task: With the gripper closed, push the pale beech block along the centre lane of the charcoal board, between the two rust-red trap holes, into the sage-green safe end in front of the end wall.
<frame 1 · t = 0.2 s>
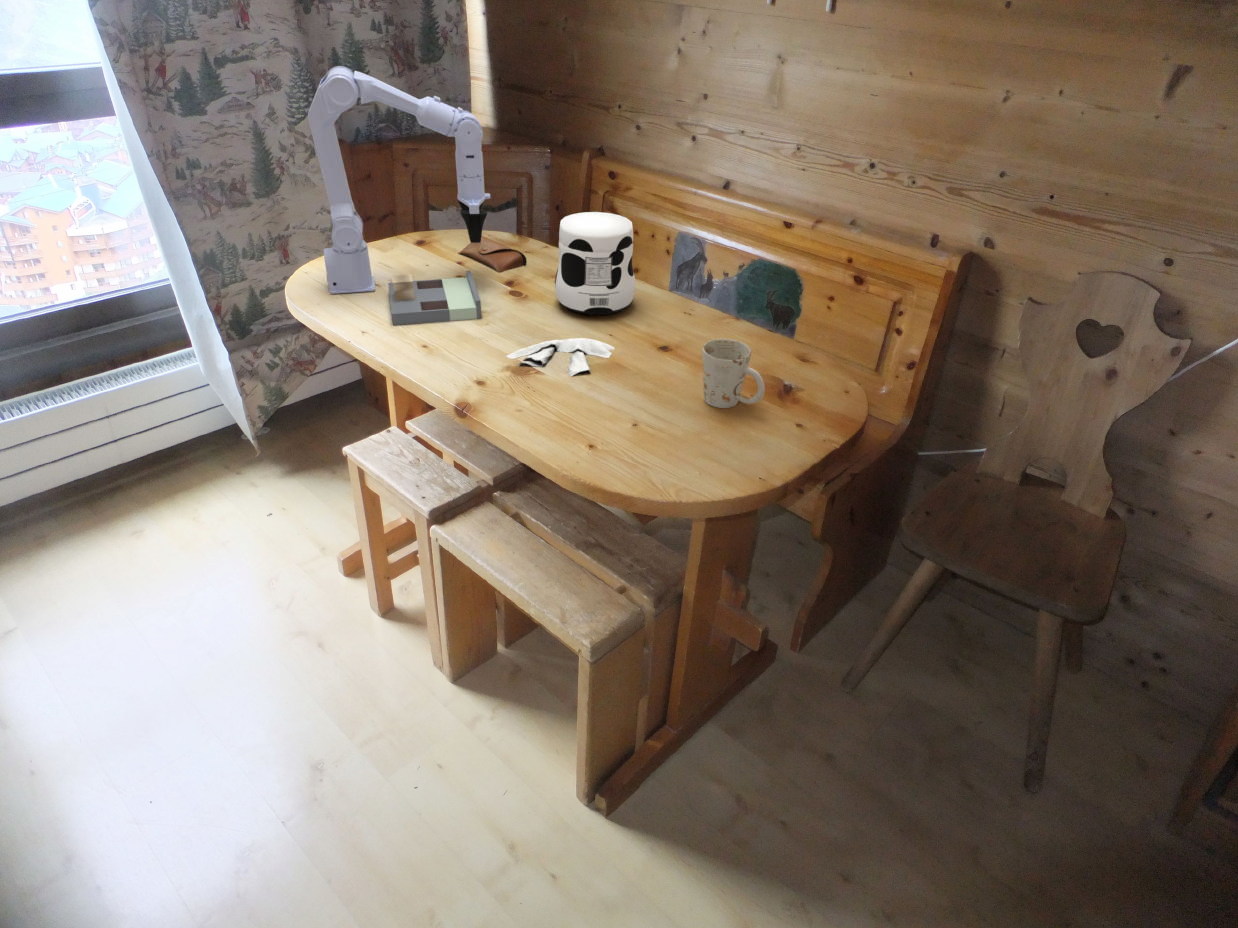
hand: (474, 236, 180), 10 cm above the table, tool pointing down, fingers open, 7 cm apart
trap board: (429, 306, 173), on the table
beech block: (404, 296, 170), point 2 cm above the table, touching trap board
sunglasses case: (491, 261, 198), on the table
milk container: (594, 305, 176), on the table
cloth: (559, 363, 155), on the table
mug: (730, 405, 142), on the table
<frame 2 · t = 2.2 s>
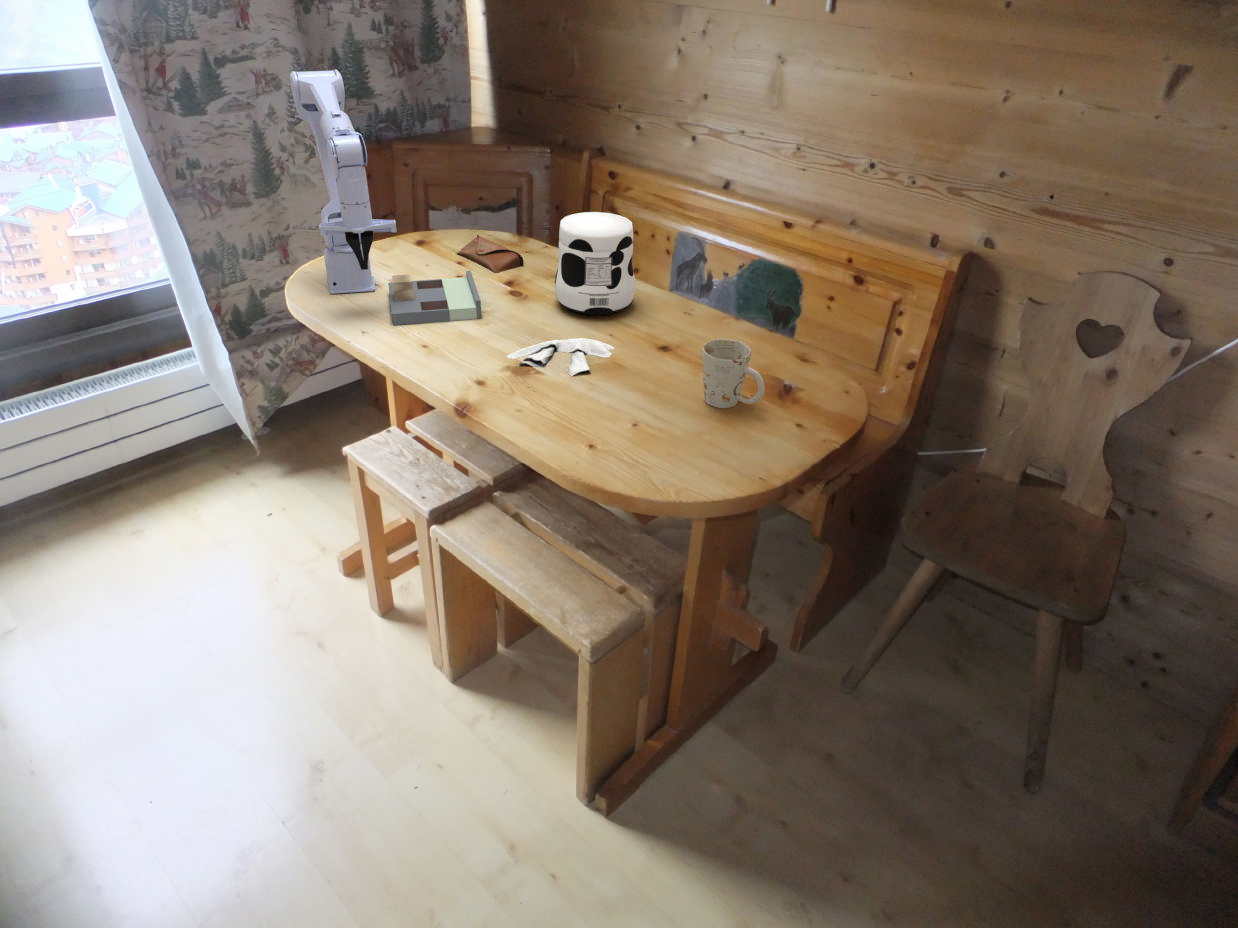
hand: (364, 268, 164), 9 cm above the table, tool pointing down, fingers closed
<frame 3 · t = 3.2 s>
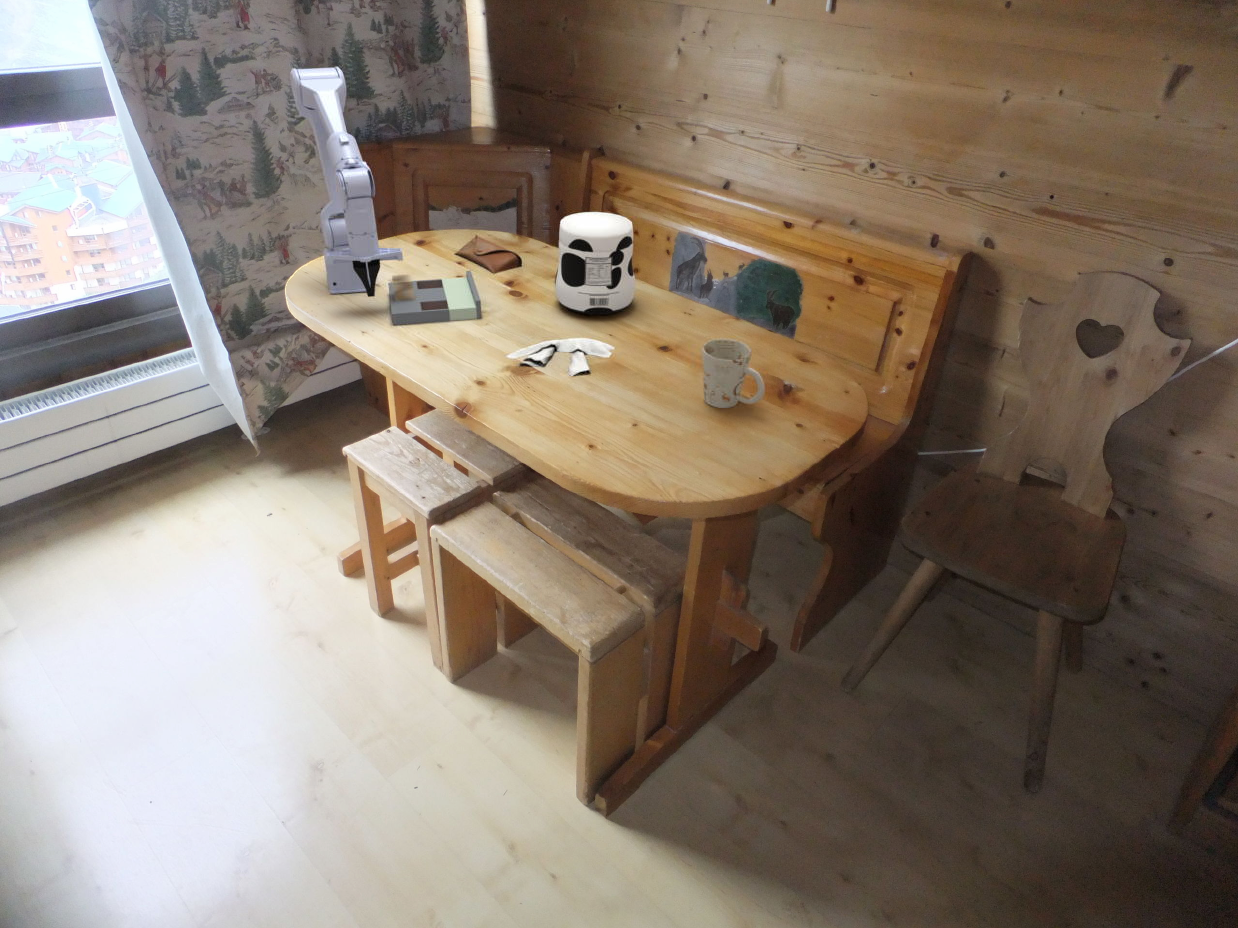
hand: (371, 295, 168), 3 cm above the table, tool pointing down, fingers closed
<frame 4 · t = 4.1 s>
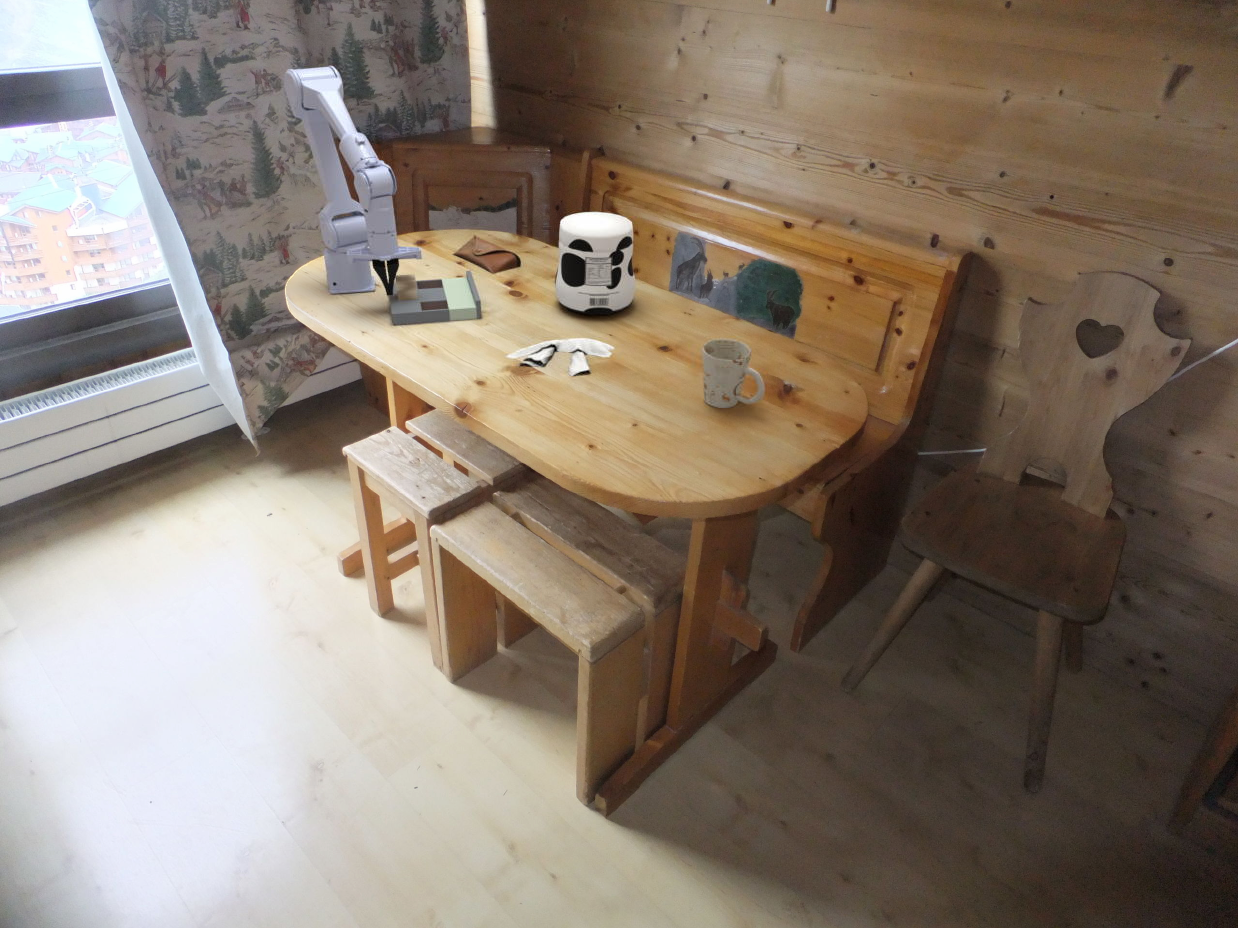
hand: (389, 293, 169), 3 cm above the table, tool pointing down, fingers closed
beech block: (407, 296, 170), point 3 cm above the table, touching gripper, trap board
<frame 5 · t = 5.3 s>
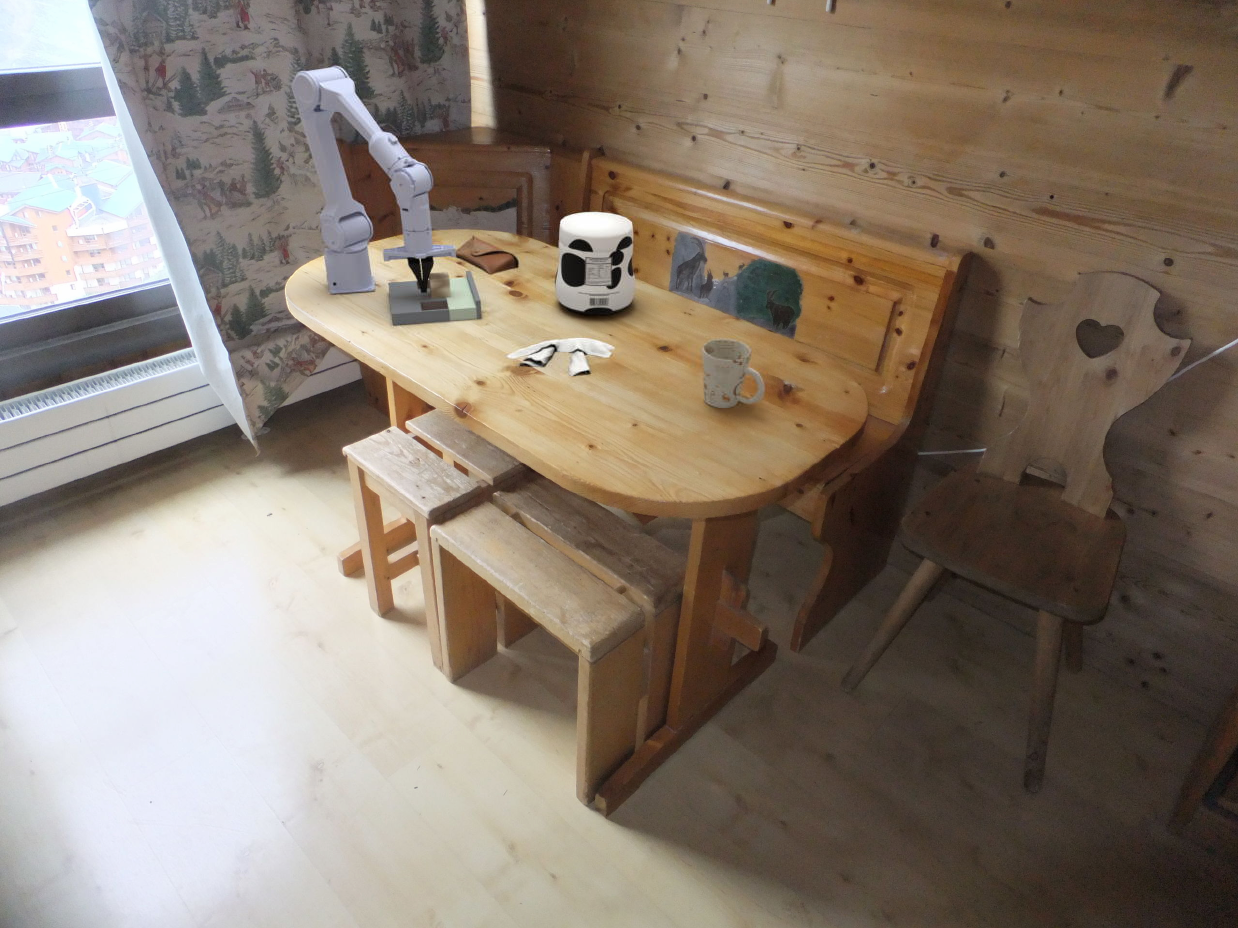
hand: (423, 291, 170), 3 cm above the table, tool pointing down, fingers closed
beech block: (440, 294, 172), point 3 cm above the table, touching gripper, trap board
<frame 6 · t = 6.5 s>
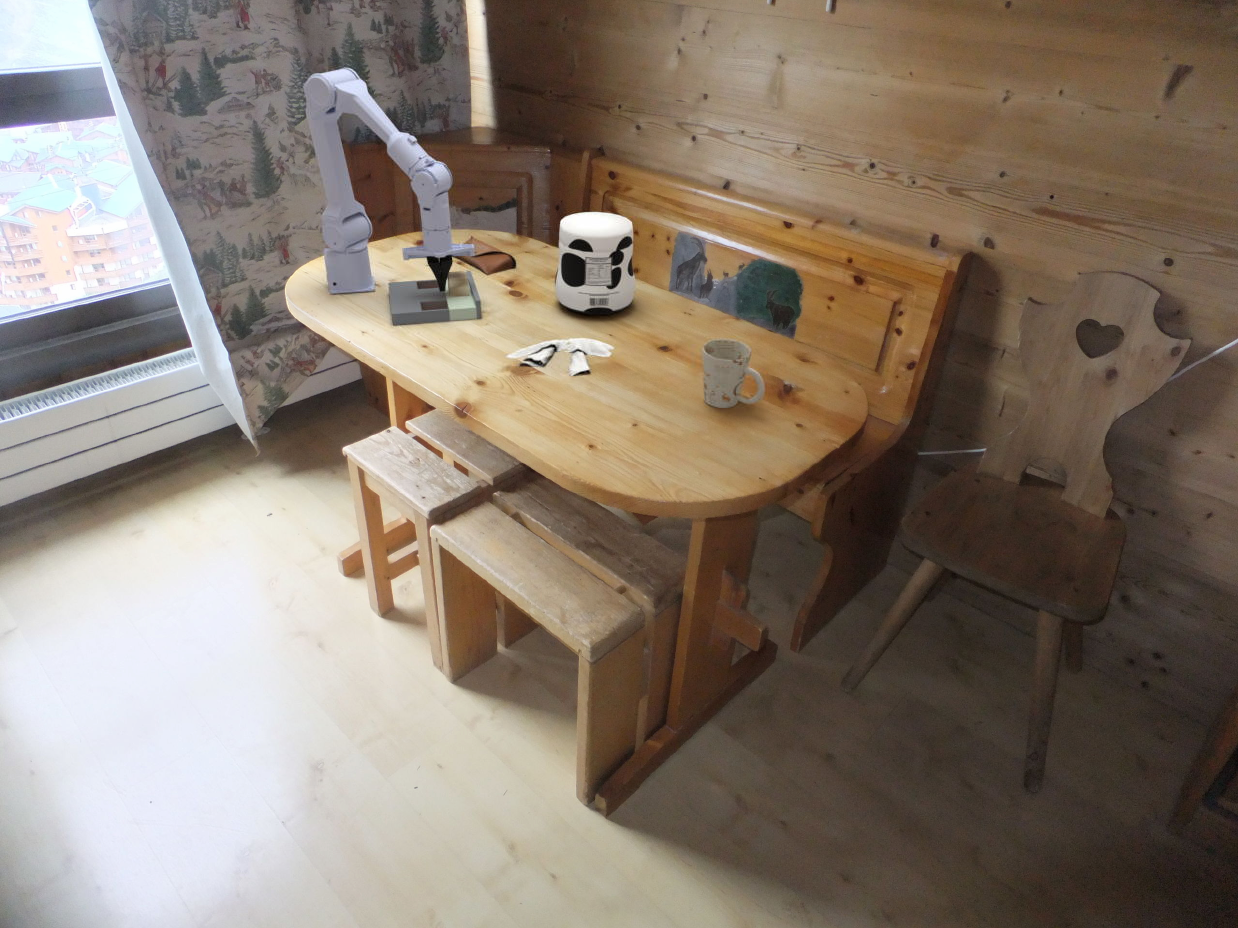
hand: (442, 289, 171), 3 cm above the table, tool pointing down, fingers closed
beech block: (458, 292, 173), point 2 cm above the table, touching gripper, trap board
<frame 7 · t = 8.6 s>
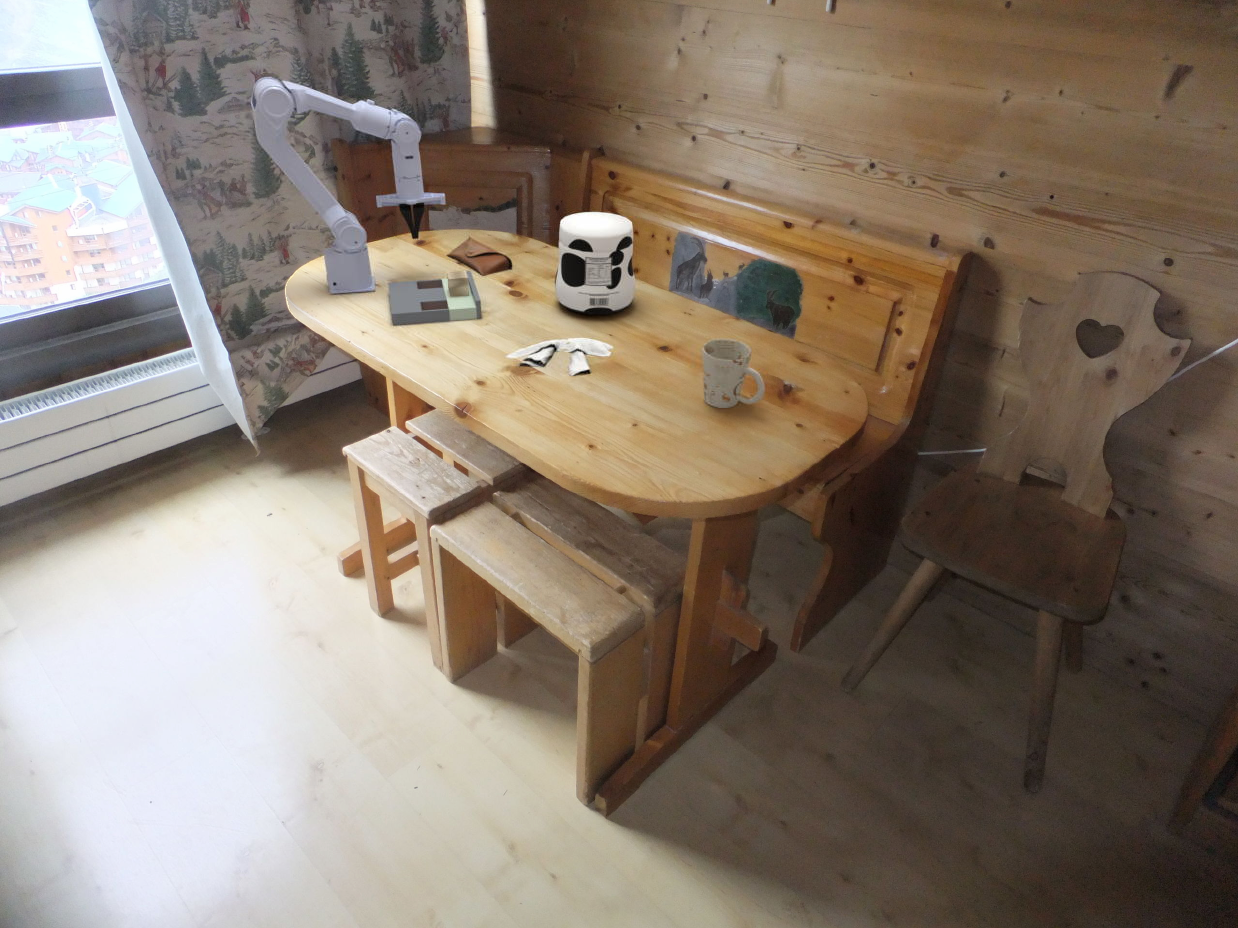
hand: (415, 237, 180), 9 cm above the table, tool pointing down, fingers closed
beech block: (458, 292, 173), point 2 cm above the table, touching trap board
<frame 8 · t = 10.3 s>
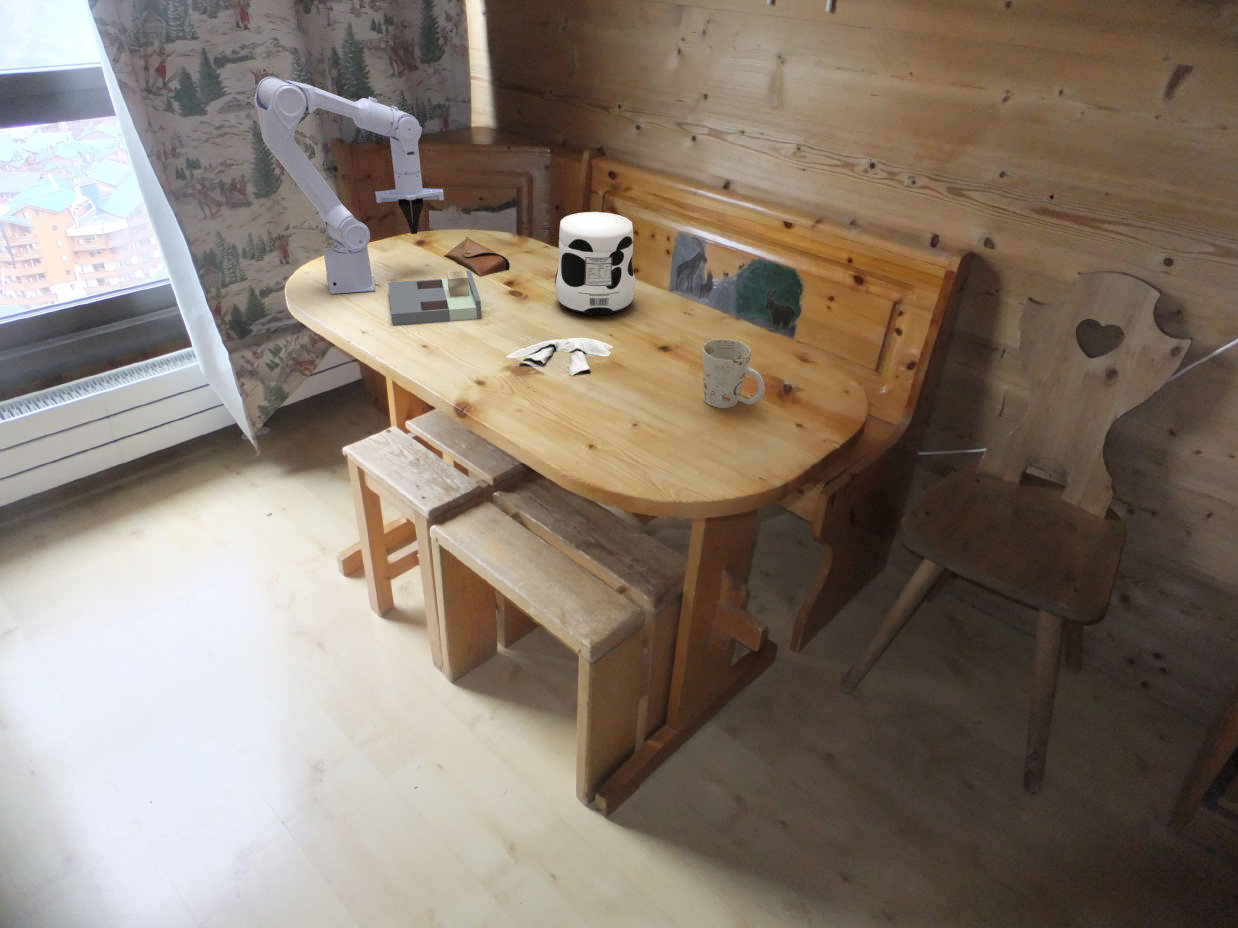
hand: (414, 232, 183), 9 cm above the table, tool pointing down, fingers closed
at the end: beech block 0.0 cm from the target spot on the trap board, point 2.5 cm above the trap board's base; beech block tilted 0°; beech block moved 11.4 cm from its start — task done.
